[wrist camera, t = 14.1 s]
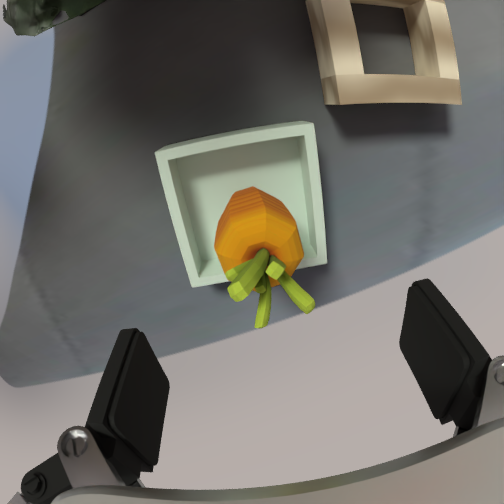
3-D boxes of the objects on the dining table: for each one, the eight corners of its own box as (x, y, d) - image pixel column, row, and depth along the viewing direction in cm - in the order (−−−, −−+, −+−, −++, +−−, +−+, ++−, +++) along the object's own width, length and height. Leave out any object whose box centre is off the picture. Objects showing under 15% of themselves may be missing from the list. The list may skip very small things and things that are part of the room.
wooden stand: (300, -19, 18) (311, -36, 15) (416, -8, 18) (439, -18, 14) (324, 104, 24) (340, 104, 20) (436, 101, 23) (461, 104, 20)
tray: (165, 145, 24) (154, 152, 21) (301, 120, 24) (313, 123, 21) (196, 264, 30) (192, 287, 26) (315, 243, 29) (327, 263, 26)
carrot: (288, 200, 26) (350, 303, 13) (244, 235, 27) (261, 362, 14) (251, 156, 24) (284, 221, 11) (206, 194, 26) (184, 299, 12)
